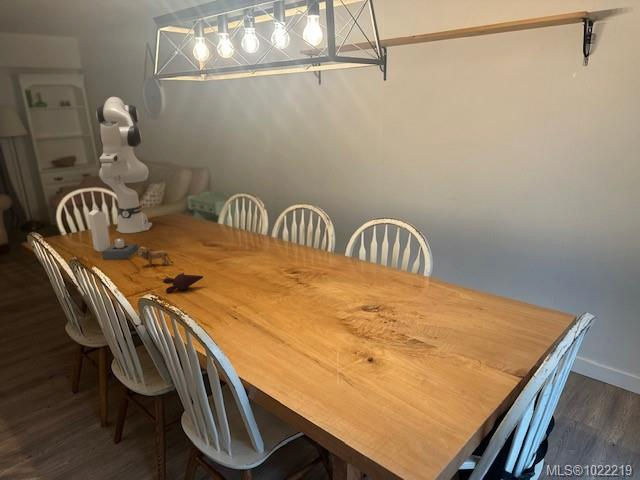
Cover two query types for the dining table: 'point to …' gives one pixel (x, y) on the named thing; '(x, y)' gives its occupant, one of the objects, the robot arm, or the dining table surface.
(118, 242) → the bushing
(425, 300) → the dining table surface
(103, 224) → the milk
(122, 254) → the jig
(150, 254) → the lion figurine
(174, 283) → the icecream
